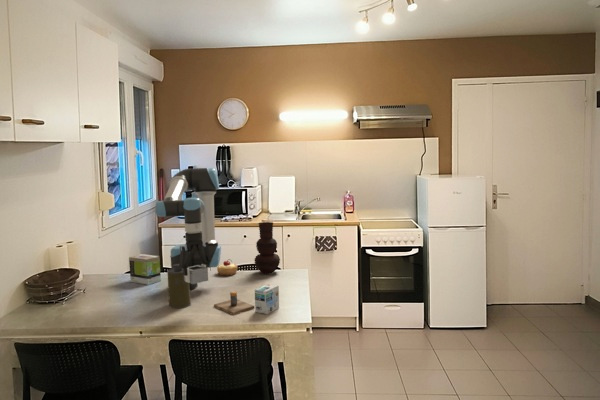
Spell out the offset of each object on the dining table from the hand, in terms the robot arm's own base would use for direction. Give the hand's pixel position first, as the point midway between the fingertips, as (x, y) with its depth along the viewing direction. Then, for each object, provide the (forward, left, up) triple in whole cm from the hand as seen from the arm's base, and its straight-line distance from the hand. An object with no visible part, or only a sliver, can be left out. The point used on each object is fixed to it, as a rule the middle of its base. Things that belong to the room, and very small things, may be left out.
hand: (196, 280), depth 233 cm
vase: (-30, +65, -15) cm, 73 cm away
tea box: (-67, +6, -15) cm, 69 cm away
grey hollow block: (0, 0, 0) cm, 0 cm away
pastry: (-46, +48, -15) cm, 68 cm away
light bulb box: (+22, +24, -15) cm, 36 cm away
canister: (-15, -1, -15) cm, 21 cm away
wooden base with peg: (+8, +15, -15) cm, 23 cm away
